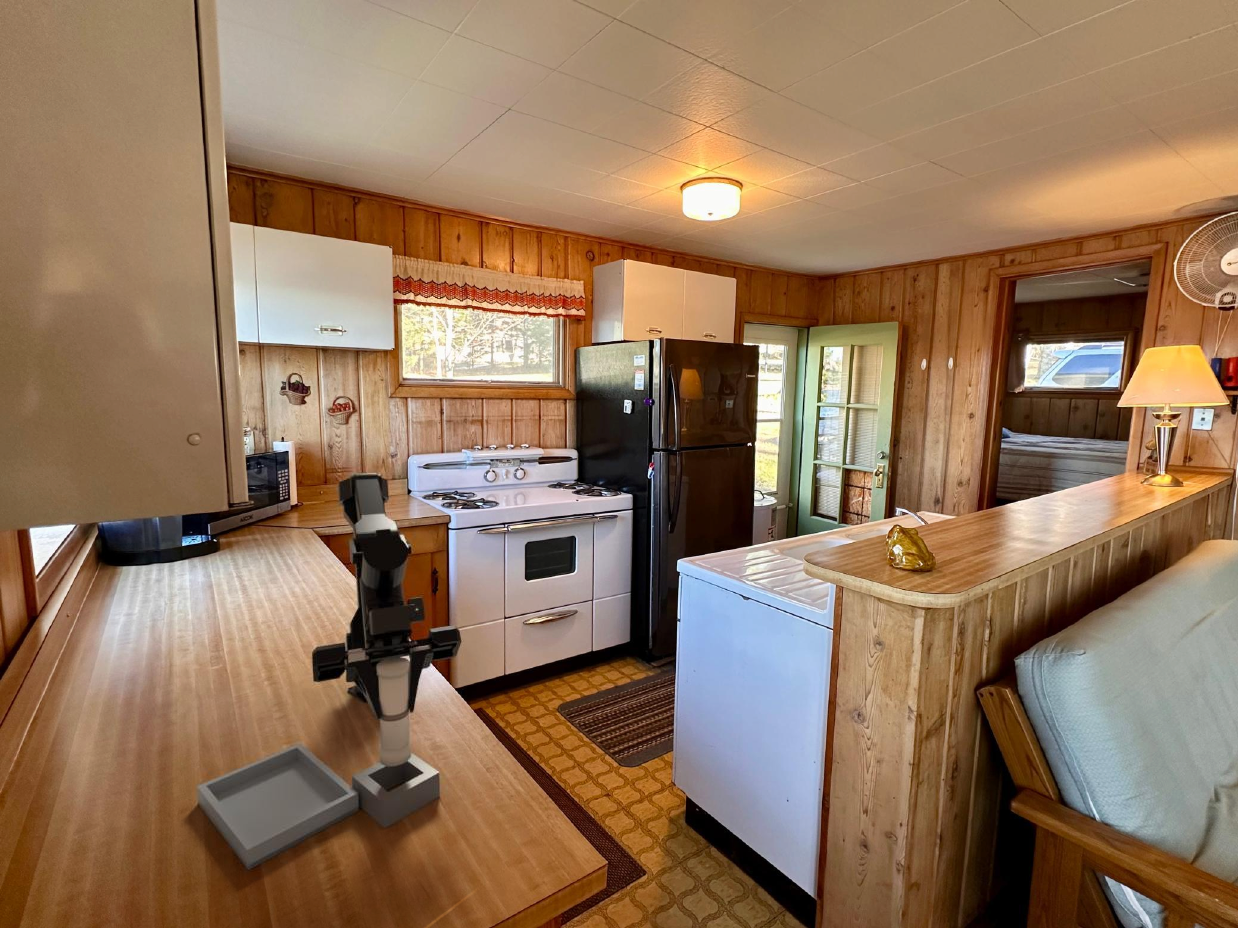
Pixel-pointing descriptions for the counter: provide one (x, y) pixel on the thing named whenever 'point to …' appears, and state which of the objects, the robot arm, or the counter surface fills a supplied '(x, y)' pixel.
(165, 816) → the counter surface
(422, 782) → the holder
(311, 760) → the parts tray
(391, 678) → the beige banded cylinder
